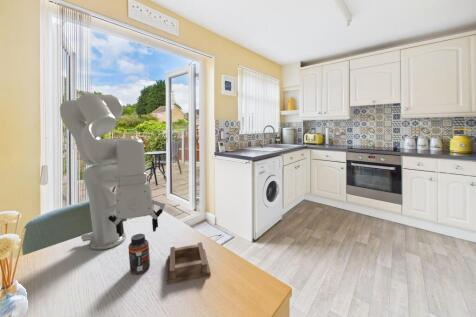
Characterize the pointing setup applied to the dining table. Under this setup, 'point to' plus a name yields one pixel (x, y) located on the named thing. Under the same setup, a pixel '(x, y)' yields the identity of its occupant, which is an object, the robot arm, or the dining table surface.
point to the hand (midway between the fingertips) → (138, 232)
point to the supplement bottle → (139, 254)
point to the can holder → (187, 263)
